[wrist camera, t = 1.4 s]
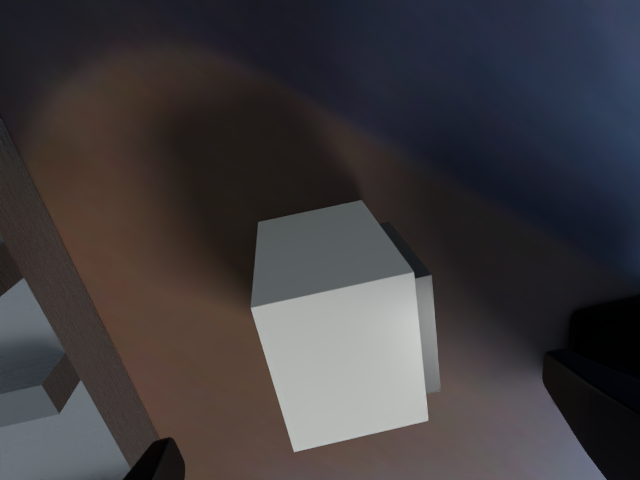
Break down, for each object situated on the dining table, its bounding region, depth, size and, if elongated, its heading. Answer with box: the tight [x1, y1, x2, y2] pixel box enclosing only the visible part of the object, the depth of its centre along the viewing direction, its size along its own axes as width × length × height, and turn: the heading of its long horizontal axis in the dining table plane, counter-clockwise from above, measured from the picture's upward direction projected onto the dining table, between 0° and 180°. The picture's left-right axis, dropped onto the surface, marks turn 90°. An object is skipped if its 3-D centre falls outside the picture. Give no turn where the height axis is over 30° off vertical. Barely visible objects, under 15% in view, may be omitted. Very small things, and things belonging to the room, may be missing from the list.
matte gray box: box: [251, 200, 441, 452], centre depth 13 cm, size 5×5×6 cm
